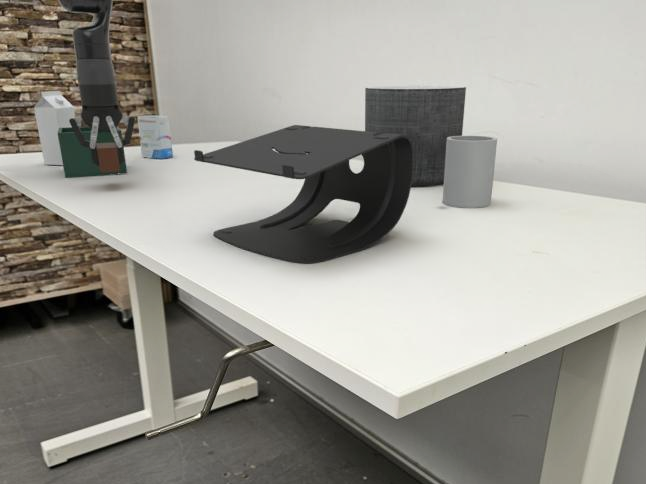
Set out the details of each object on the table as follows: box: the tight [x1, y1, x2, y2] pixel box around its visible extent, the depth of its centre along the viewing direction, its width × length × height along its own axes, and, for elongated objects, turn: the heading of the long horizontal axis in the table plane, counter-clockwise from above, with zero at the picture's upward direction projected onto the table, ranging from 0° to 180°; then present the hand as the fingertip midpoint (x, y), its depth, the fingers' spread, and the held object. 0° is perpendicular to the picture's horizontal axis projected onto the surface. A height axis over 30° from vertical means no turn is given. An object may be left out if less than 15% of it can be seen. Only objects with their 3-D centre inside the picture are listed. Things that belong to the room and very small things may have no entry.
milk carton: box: [33, 90, 76, 166], centre depth 166 cm, size 7×7×19 cm
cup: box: [442, 135, 498, 209], centre depth 115 cm, size 9×9×12 cm
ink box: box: [136, 115, 174, 160], centre depth 178 cm, size 9×5×12 cm, turn 59°
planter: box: [364, 84, 467, 187], centre depth 138 cm, size 22×22×20 cm
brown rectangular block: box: [96, 143, 120, 172], centre depth 134 cm, size 4×10×5 cm, turn 21°
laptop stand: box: [193, 124, 413, 264], centre depth 93 cm, size 26×24×16 cm
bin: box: [58, 125, 128, 179], centre depth 155 cm, size 15×15×10 cm
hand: (108, 164), depth 134 cm, fingers closed on brown rectangular block, 4 cm apart
